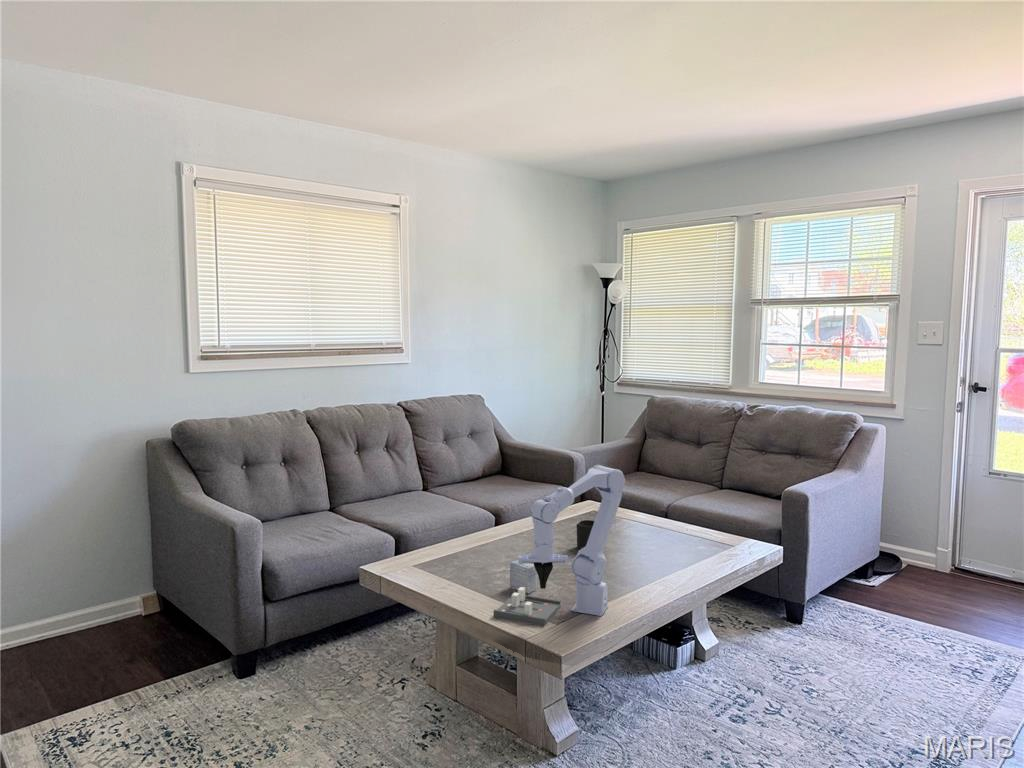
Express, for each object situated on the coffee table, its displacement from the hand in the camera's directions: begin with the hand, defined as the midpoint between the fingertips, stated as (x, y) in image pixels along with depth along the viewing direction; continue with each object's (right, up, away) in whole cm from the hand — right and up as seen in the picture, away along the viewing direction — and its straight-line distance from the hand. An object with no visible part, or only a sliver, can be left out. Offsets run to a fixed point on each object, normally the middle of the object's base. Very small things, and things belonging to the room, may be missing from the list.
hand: (542, 587), depth 201 cm
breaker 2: (-6, -8, +14) cm, 17 cm away
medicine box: (-5, -9, +26) cm, 28 cm away
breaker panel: (-4, -10, +8) cm, 13 cm away
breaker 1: (-8, -8, +9) cm, 15 cm away
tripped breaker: (-4, -9, +2) cm, 10 cm away
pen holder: (+21, -5, +69) cm, 73 cm away
